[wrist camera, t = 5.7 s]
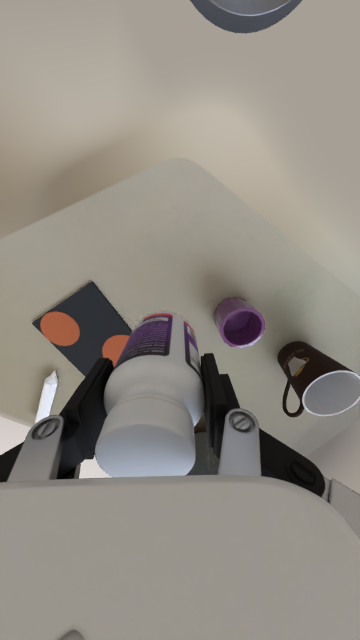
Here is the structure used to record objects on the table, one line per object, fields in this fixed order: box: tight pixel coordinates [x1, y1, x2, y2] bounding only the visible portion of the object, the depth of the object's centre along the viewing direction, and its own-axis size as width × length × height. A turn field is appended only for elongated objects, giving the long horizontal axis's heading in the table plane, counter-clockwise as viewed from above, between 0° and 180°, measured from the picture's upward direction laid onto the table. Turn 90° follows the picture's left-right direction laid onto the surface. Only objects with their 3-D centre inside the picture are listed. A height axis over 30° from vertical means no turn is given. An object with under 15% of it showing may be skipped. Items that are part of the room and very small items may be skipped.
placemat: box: [32, 282, 132, 377], centre depth 35 cm, size 18×14×1 cm
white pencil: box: [35, 370, 58, 424], centre depth 39 cm, size 3×2×16 cm
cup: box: [214, 297, 265, 348], centre depth 31 cm, size 7×7×6 cm
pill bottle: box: [95, 311, 205, 478], centre depth 12 cm, size 5×5×10 cm
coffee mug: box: [278, 341, 360, 417], centre depth 32 cm, size 12×9×10 cm
